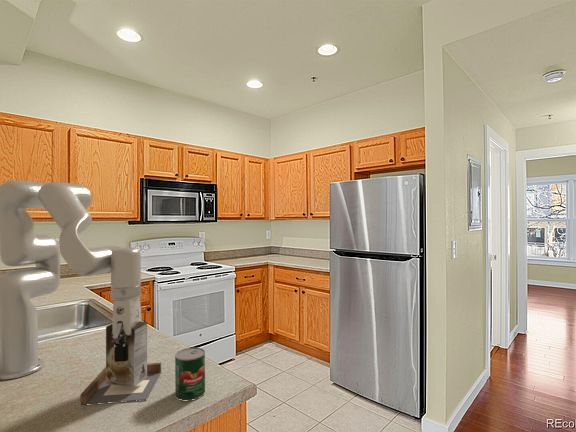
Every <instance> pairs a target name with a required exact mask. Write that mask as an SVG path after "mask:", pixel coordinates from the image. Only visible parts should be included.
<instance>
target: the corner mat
mask: <svg viewBox="0 0 576 432" xmlns="http://www.w3.org/2000/svg"><path fill="white" fill-rule="evenodd" d="M161 374H162V371H161V372H160V373H150V374H147V378H145V379H144V380H143V381H141V382H140V383H139V384H138V385H136V386H135V387H126V386H118V385H110V384H106V381H105V382H104V383H103V384H102V385H101V387H100V388H99V389H98V390H97V391H96V392H95V394H94V395H93V396H92V397H91V398H90V400H89V401H88V402H87V403H86V405H85V406H88V405H87V404H97V405H99V404H98V403H108V402H121V401H135V402H140V401H139V400H146V399H147V400H148V398H149V397H150V395H151V393H152V391H153V389H154V388H155V385H156V384H157V381H158V379H159V378H160V375H161ZM150 392H151V393H150ZM149 394H150V395H149ZM136 400H137V401H136ZM147 400H146V401H147Z"/></svg>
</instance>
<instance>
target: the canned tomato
mask: <svg viewBox="0 0 576 432" xmlns="http://www.w3.org/2000/svg"><path fill="white" fill-rule="evenodd" d="M174 357H175V358H174V359H175V361H174V366H175V368H174V369H175V370H174V372H175V374H174V375H175V376H174V379H175V396H176V397H177V398H178V399H182V400H192V399H196V400H198V399H197V398H199V397H200V398H202V397H203V396H204V395H205V394H206V350H205V349H203V348H201V347H187V348H183V349H180V350H179V351H177V352H176V353H175V354H174ZM204 393H205V394H204ZM202 395H203V396H202ZM201 396H202V397H201ZM176 397H175V398H176ZM200 398H199V399H200ZM178 399H177V400H178Z"/></svg>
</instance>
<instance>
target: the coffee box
mask: <svg viewBox="0 0 576 432" xmlns="http://www.w3.org/2000/svg"><path fill="white" fill-rule="evenodd" d="M121 334H125V332H124V329H123V330H122V332H121ZM120 339H122V340H123V341H124V337H122V338H120ZM127 345H128V360H127V361H121V362H115V348H114V340H113V328H112V323H111V324H108V325H107V326H105V367H106V384H110V385H118V386H126V387H135V386H136V385H138V384H139V383H140V382H141V381H143V380H144V379H145V378H147V364H148V322H147V321H139V322H138V323H137V324H136V325H135V326H134V327H133V328H132V335H131V336H129V335H127V344H126V346H127Z"/></svg>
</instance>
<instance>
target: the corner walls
mask: <svg viewBox="0 0 576 432" xmlns="http://www.w3.org/2000/svg"><path fill="white" fill-rule="evenodd" d="M160 372H161V373H162V362H151V363H148V362H147V374H150V373H160ZM105 381H106V366H104V368H103V369H102V370H101V371H100V372H99V374H98V375H97V376H96V377H95V378H94V379H93V380H92V381H91V382H90V383H89V384H88V385H87V386H86V388H85V389H84V390H83V391H82V392H81V393H80V405H84V406H87V405H86V403H87V402H88V401H89V400H90V398H91V397H92V396H93V395H94V394H95V392H96V391H97V390H98V389H99V388H100V387H101V385H102V384H103V383H104V382H105Z"/></svg>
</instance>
